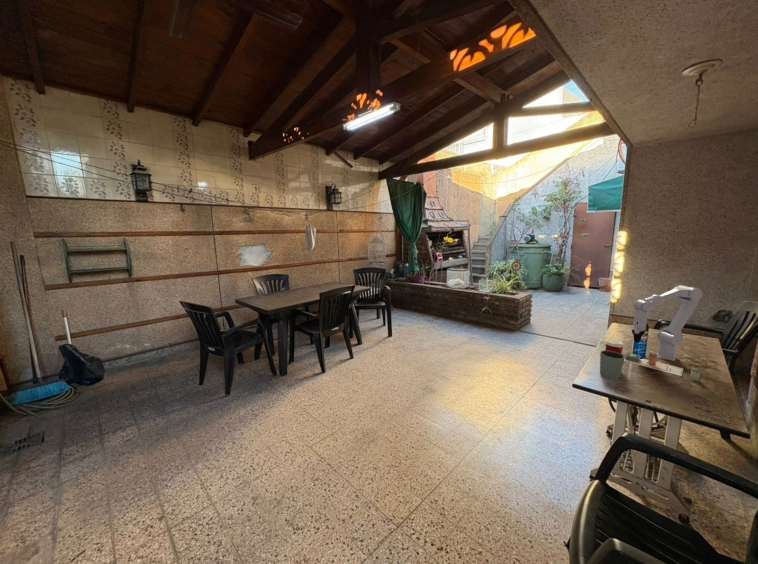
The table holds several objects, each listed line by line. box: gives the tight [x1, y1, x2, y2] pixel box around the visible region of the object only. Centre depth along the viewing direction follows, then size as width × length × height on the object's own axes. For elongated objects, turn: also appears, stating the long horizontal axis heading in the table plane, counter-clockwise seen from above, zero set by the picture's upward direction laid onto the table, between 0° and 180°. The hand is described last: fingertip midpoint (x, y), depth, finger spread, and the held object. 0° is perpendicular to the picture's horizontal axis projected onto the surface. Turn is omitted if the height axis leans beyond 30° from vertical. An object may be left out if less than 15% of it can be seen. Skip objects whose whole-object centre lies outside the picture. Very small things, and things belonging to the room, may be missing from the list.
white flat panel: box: [624, 358, 684, 378], centre depth 164 cm, size 12×24×1 cm, turn 41°
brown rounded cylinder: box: [647, 352, 658, 366], centre depth 163 cm, size 3×3×6 cm
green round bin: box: [599, 350, 626, 380], centre depth 153 cm, size 10×10×12 cm
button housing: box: [624, 352, 642, 363], centre depth 170 cm, size 6×6×2 cm
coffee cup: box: [604, 339, 625, 355], centre depth 161 cm, size 8×8×15 cm
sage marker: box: [689, 367, 702, 383], centre depth 147 cm, size 3×3×6 cm
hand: (636, 342), depth 172 cm, fingers closed
